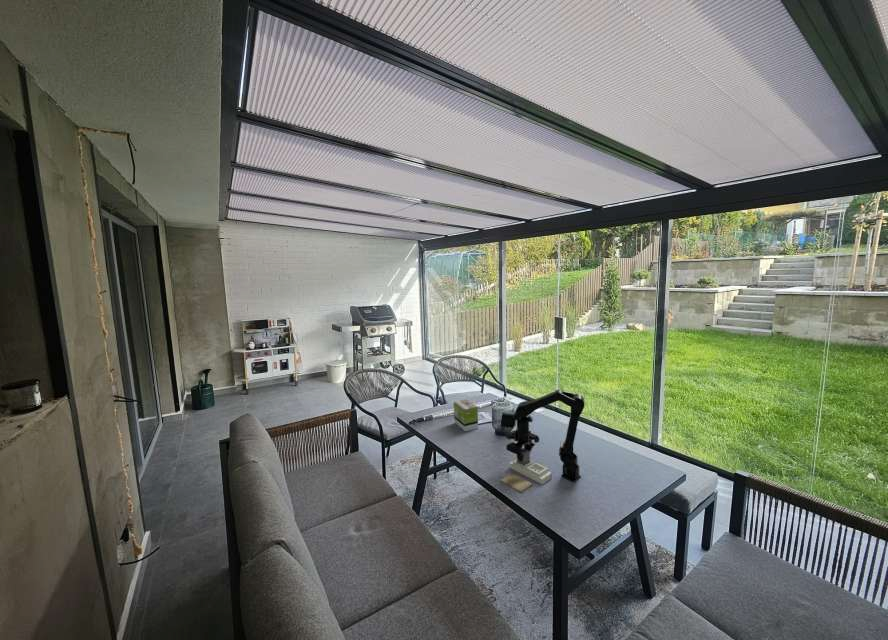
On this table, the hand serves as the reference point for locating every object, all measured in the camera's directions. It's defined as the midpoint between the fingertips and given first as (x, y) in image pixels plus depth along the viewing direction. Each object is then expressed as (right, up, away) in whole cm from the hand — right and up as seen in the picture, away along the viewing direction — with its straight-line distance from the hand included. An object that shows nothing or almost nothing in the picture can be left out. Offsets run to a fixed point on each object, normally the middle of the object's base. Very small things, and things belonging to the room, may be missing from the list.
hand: (523, 459), depth 166 cm
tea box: (-25, 0, +52) cm, 58 cm away
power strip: (+3, -5, -3) cm, 6 cm away
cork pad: (-5, -7, -10) cm, 14 cm away
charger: (0, -3, 0) cm, 2 cm away
